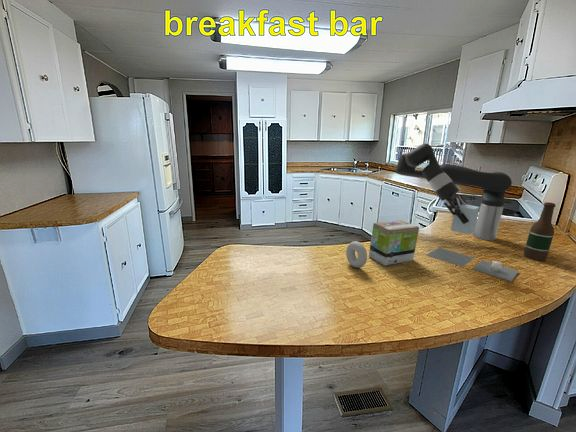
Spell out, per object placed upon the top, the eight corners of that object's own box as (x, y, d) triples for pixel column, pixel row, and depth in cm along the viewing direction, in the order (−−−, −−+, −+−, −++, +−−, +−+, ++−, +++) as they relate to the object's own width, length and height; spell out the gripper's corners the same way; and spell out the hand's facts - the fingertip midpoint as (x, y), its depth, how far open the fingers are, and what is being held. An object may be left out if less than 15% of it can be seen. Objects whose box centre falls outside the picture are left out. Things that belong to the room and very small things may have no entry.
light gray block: (450, 230, 114) (455, 205, 111) (456, 227, 118) (461, 203, 115) (468, 234, 109) (474, 209, 106) (474, 231, 113) (479, 206, 111)
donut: (367, 271, 104) (370, 246, 101) (360, 273, 102) (363, 247, 99) (350, 260, 112) (352, 237, 110) (343, 262, 111) (345, 238, 108)
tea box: (385, 267, 108) (390, 230, 104) (368, 256, 117) (372, 222, 113) (414, 261, 114) (420, 225, 110) (395, 251, 123) (400, 219, 119)
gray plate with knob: (472, 270, 108) (474, 261, 107) (481, 261, 116) (483, 253, 115) (510, 282, 100) (513, 273, 99) (518, 272, 107) (520, 263, 106)
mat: (425, 256, 120) (425, 255, 120) (438, 248, 129) (439, 247, 129) (462, 267, 110) (462, 266, 110) (473, 258, 119) (474, 257, 119)
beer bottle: (550, 262, 118) (568, 206, 112) (529, 260, 119) (545, 204, 113) (538, 254, 125) (554, 201, 119) (518, 252, 127) (533, 200, 120)
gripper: (442, 190, 124) (467, 222, 118) (428, 193, 114) (453, 229, 109) (458, 179, 118) (484, 213, 113) (444, 182, 109) (472, 219, 104)
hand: (469, 221), depth 111 cm, fingers closed on light gray block, 6 cm apart
